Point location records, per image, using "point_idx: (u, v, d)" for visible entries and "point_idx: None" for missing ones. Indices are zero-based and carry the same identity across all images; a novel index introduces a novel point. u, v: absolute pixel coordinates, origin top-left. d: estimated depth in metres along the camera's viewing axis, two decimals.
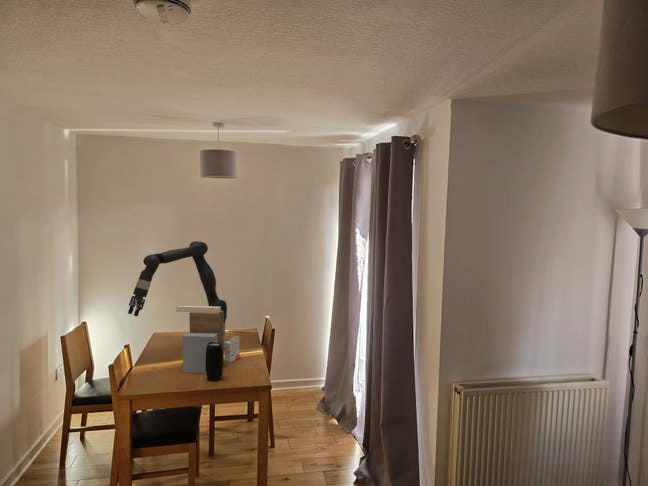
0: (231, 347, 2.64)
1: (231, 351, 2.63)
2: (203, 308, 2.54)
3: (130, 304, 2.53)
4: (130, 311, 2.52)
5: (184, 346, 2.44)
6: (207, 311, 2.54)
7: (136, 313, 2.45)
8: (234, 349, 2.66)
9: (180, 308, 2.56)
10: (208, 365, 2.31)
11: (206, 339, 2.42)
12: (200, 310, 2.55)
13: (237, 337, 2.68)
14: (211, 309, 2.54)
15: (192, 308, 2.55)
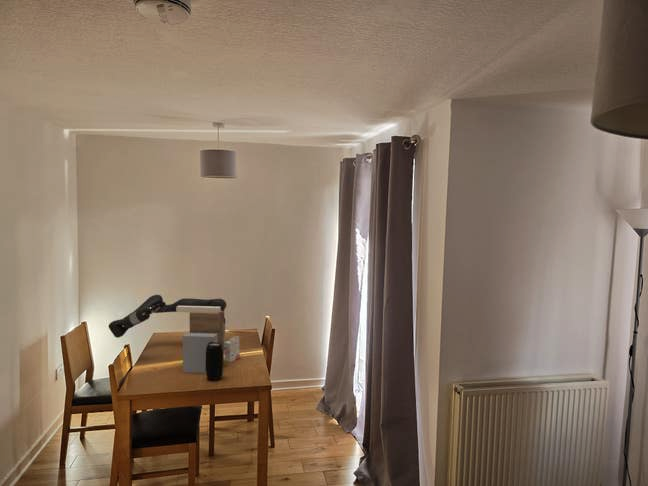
0: (231, 347, 2.64)
1: (231, 351, 2.63)
2: (203, 308, 2.54)
3: (159, 308, 2.66)
4: (162, 304, 2.65)
5: (184, 346, 2.44)
6: (207, 311, 2.54)
7: (155, 308, 2.56)
8: (234, 349, 2.66)
9: (180, 308, 2.56)
10: (208, 365, 2.31)
11: (206, 339, 2.42)
12: (200, 310, 2.55)
13: (237, 337, 2.68)
14: (211, 309, 2.54)
15: (192, 308, 2.55)
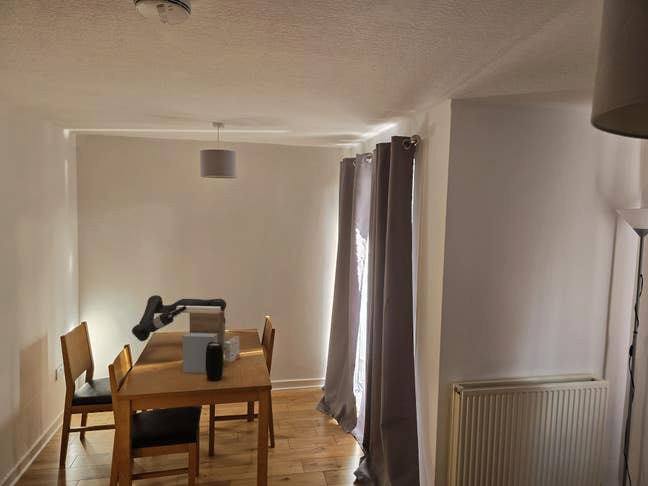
0: (231, 347, 2.64)
1: (231, 351, 2.63)
2: (203, 308, 2.54)
3: None
4: None
5: (184, 346, 2.44)
6: (207, 311, 2.54)
7: (183, 309, 2.54)
8: (234, 349, 2.66)
9: None
10: (208, 365, 2.31)
11: (206, 339, 2.42)
12: (200, 310, 2.55)
13: (237, 337, 2.68)
14: (211, 309, 2.54)
15: (192, 308, 2.55)
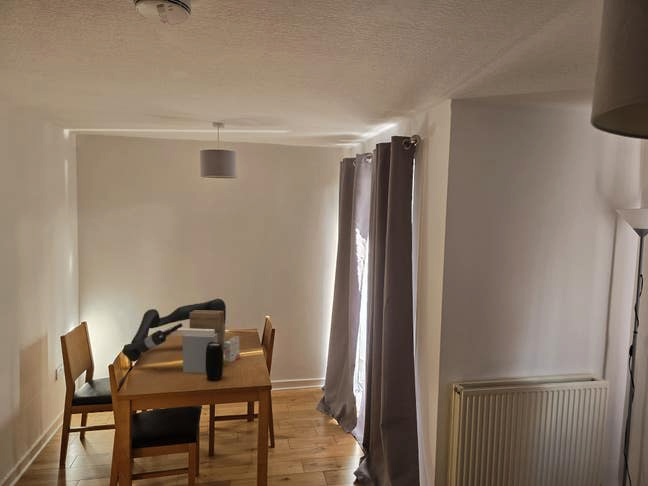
0: (231, 347, 2.64)
1: (231, 351, 2.63)
2: (196, 331, 2.45)
3: None
4: (179, 326, 2.50)
5: (184, 346, 2.44)
6: (200, 334, 2.44)
7: (174, 329, 2.43)
8: (234, 349, 2.66)
9: None
10: (208, 365, 2.31)
11: (206, 339, 2.42)
12: (193, 333, 2.45)
13: (237, 337, 2.68)
14: (205, 332, 2.44)
15: (185, 331, 2.45)
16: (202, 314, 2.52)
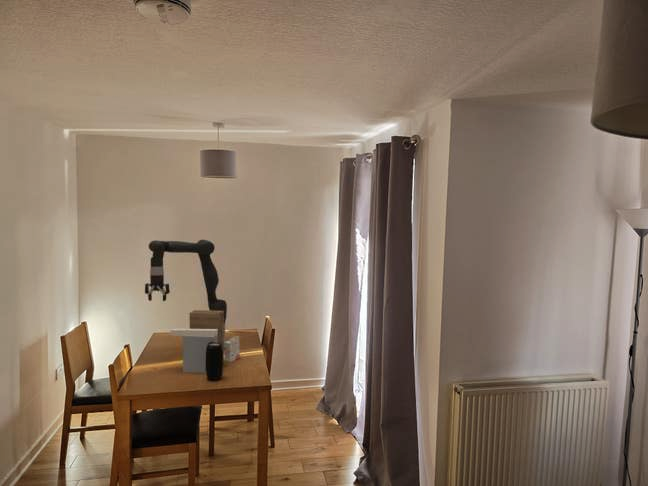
0: (231, 347, 2.64)
1: (231, 351, 2.63)
2: (199, 331, 2.44)
3: None
4: None
5: (184, 346, 2.44)
6: (204, 334, 2.44)
7: None
8: (234, 349, 2.66)
9: (175, 331, 2.44)
10: (208, 365, 2.31)
11: (206, 339, 2.42)
12: (196, 333, 2.44)
13: (237, 337, 2.68)
14: (208, 332, 2.44)
15: (188, 331, 2.44)
16: (202, 314, 2.52)
